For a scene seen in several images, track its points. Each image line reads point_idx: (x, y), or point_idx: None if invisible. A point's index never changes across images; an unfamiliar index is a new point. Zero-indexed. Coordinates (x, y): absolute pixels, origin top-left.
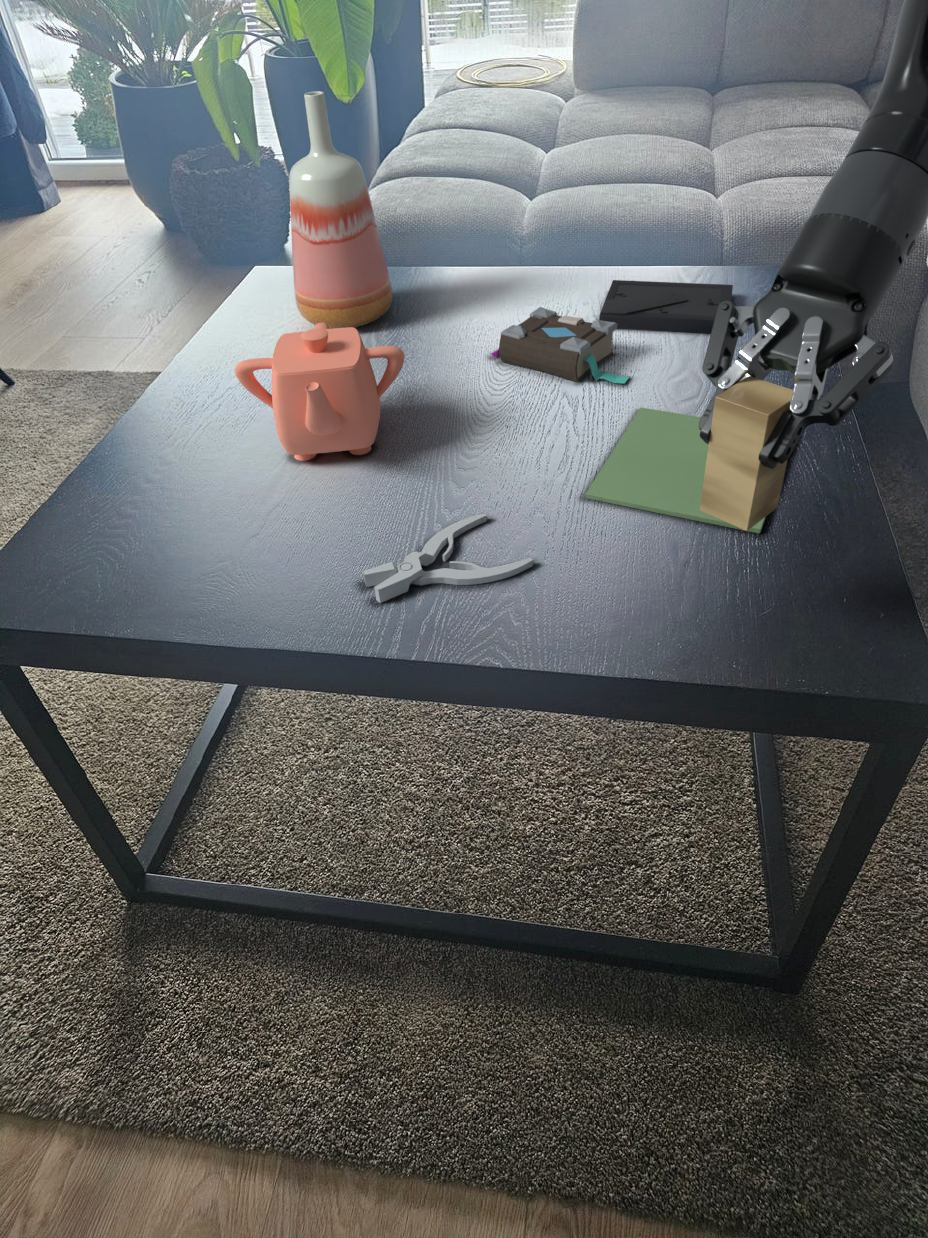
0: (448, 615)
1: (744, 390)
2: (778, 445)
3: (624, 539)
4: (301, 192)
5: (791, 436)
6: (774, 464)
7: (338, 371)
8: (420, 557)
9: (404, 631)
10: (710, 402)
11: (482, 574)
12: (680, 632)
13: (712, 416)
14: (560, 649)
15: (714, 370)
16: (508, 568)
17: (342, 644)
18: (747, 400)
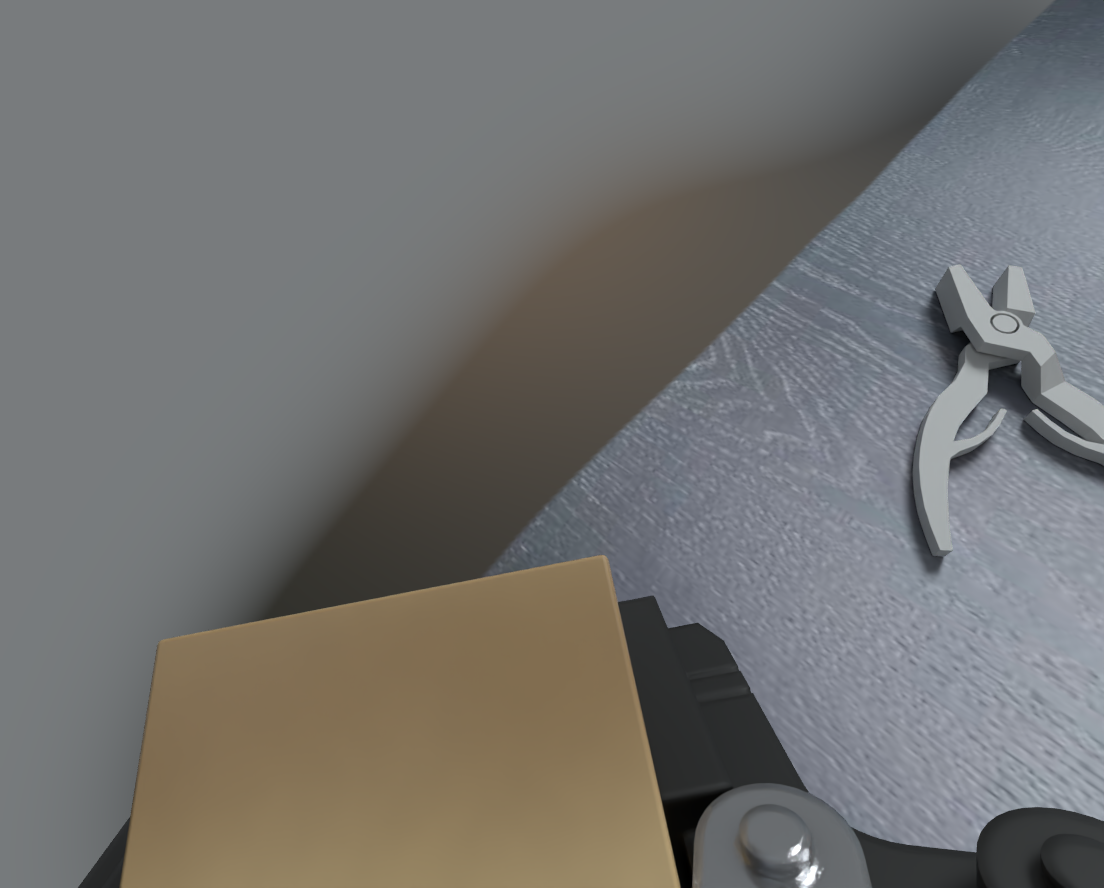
0: (849, 358)
1: (526, 831)
2: None
3: (949, 825)
4: None
5: (128, 823)
6: None
7: None
8: (1031, 358)
9: (842, 293)
10: (767, 730)
11: (932, 440)
12: None
13: (650, 651)
14: (665, 458)
15: (992, 873)
16: (929, 490)
17: (856, 222)
18: (391, 691)
